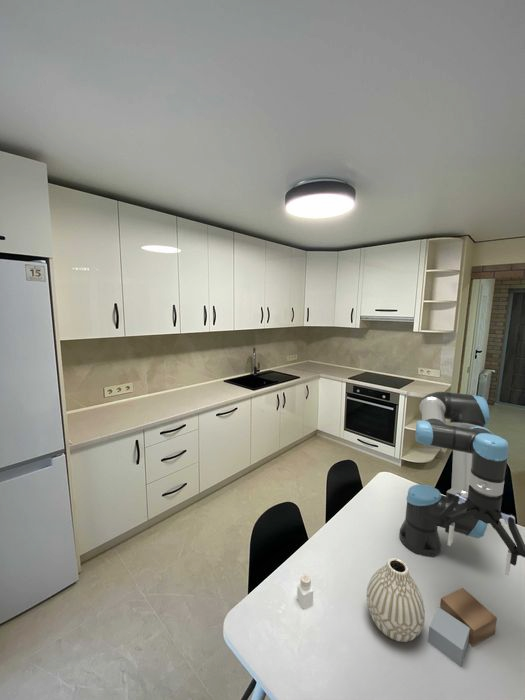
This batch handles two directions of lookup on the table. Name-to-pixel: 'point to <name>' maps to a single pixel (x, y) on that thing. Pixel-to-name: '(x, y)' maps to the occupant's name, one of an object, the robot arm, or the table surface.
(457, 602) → the walnut block
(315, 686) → the table surface
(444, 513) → the robot arm
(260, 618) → the table surface
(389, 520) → the table surface
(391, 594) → the vase
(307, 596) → the pepper shaker
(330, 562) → the table surface
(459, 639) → the slate block
